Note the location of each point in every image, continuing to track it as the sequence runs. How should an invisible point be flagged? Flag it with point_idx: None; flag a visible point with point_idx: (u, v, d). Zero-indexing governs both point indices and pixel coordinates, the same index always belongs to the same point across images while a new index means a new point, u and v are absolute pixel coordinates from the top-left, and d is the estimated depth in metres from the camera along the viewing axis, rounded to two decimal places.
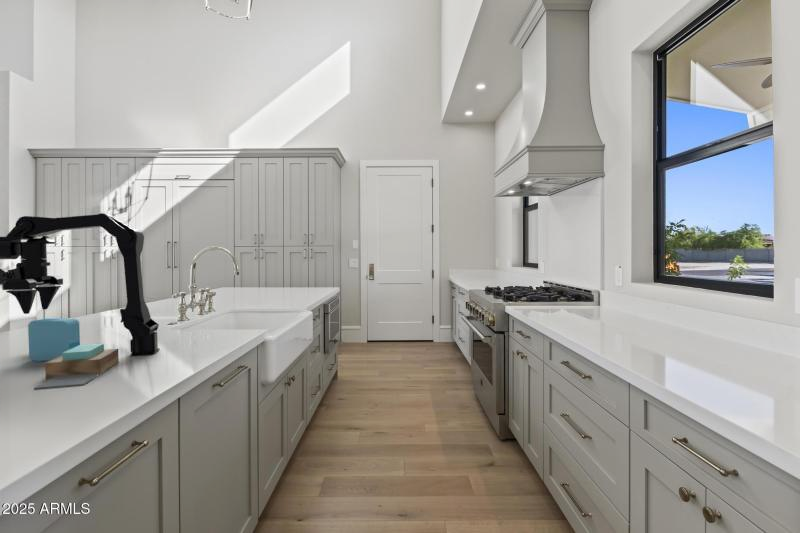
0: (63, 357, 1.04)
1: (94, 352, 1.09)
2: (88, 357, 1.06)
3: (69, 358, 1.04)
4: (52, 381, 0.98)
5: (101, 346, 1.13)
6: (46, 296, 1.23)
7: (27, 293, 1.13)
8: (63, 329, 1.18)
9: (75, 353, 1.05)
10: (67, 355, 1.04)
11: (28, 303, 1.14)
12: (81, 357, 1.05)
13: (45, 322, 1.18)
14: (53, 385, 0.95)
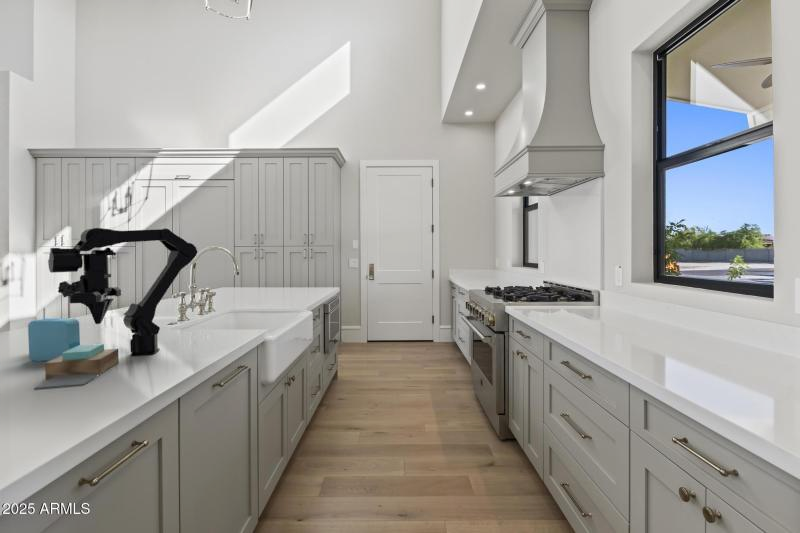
0: (63, 357, 1.04)
1: (94, 352, 1.09)
2: (88, 357, 1.06)
3: (69, 358, 1.04)
4: (52, 381, 0.98)
5: (101, 346, 1.13)
6: None
7: (99, 304, 1.16)
8: (63, 329, 1.18)
9: (75, 353, 1.05)
10: (67, 355, 1.04)
11: (99, 313, 1.17)
12: (81, 357, 1.05)
13: (45, 322, 1.18)
14: (53, 385, 0.95)
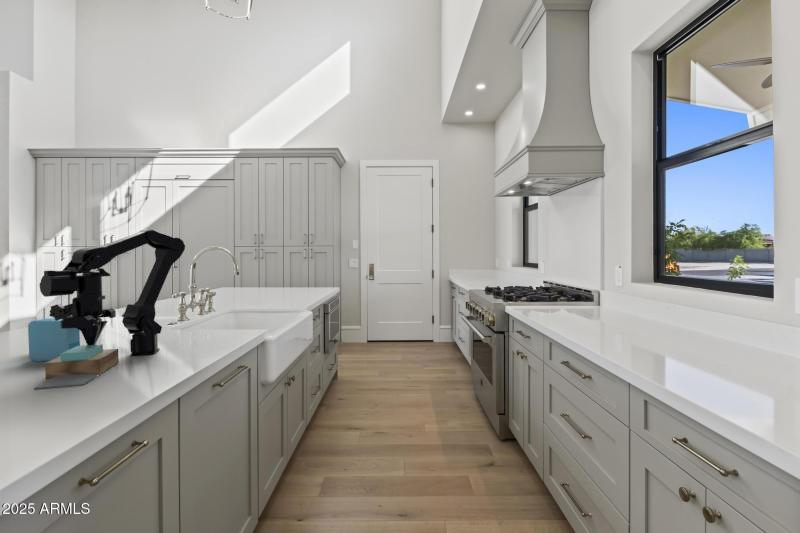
0: (61, 358, 1.03)
1: (93, 353, 1.08)
2: (87, 358, 1.05)
3: (68, 359, 1.04)
4: (52, 381, 0.98)
5: (100, 347, 1.12)
6: None
7: (92, 327, 1.12)
8: (63, 329, 1.18)
9: (74, 354, 1.04)
10: (66, 356, 1.04)
11: (93, 337, 1.12)
12: (80, 358, 1.04)
13: (45, 322, 1.18)
14: (53, 385, 0.95)
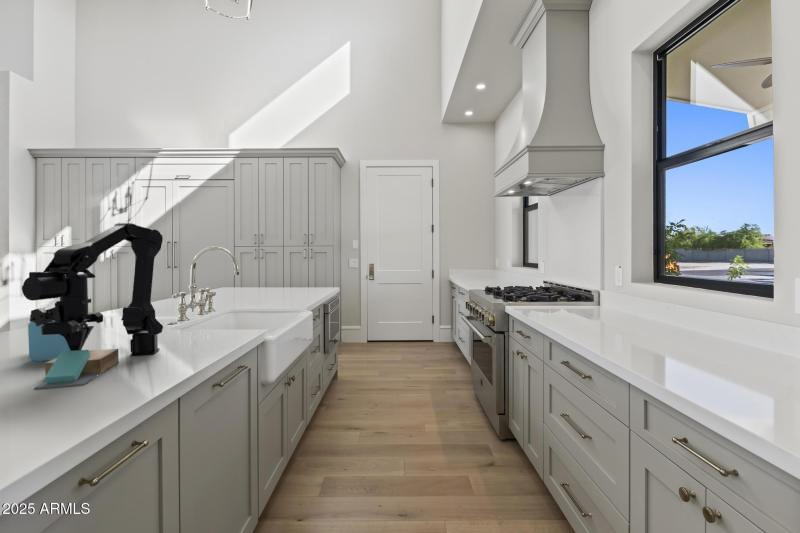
0: (47, 381, 0.96)
1: (80, 368, 1.01)
2: (75, 380, 0.98)
3: (54, 381, 0.97)
4: None
5: (86, 355, 1.04)
6: None
7: (77, 333, 1.03)
8: None
9: (59, 377, 0.97)
10: (51, 379, 0.96)
11: (77, 344, 1.04)
12: (67, 380, 0.98)
13: None
14: (53, 385, 0.95)
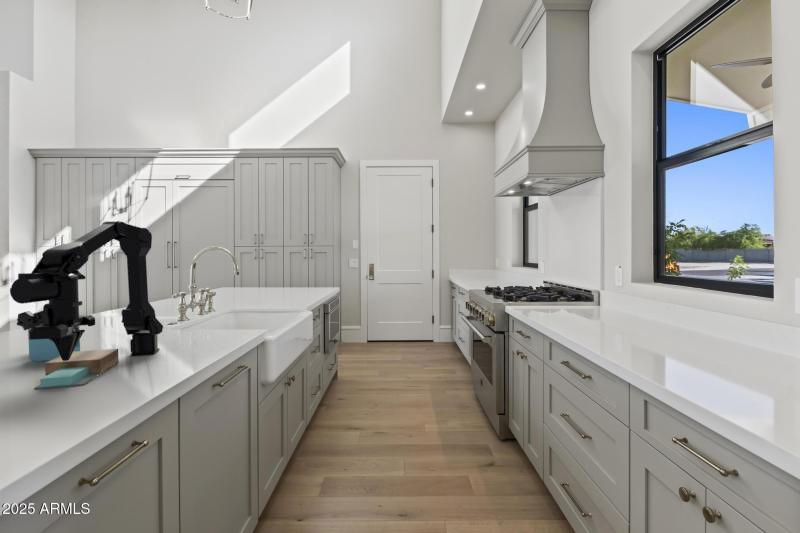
0: (41, 383, 0.94)
1: (77, 377, 0.99)
2: (69, 383, 0.96)
3: (48, 384, 0.94)
4: None
5: (85, 369, 1.03)
6: None
7: (67, 338, 0.99)
8: None
9: (55, 379, 0.95)
10: (46, 381, 0.94)
11: (67, 348, 0.99)
12: (61, 383, 0.95)
13: None
14: None
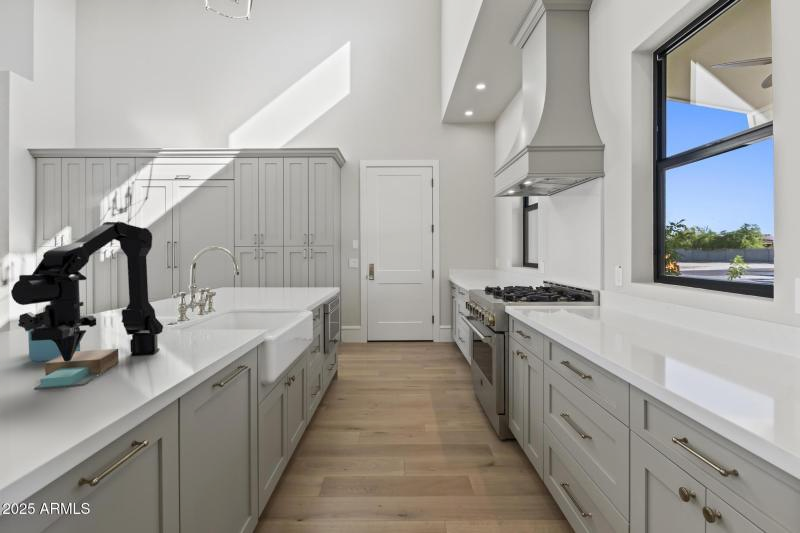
0: (41, 383, 0.94)
1: (77, 377, 0.99)
2: (69, 383, 0.96)
3: (48, 384, 0.94)
4: None
5: (85, 369, 1.03)
6: None
7: (68, 338, 0.99)
8: None
9: (55, 379, 0.95)
10: (46, 381, 0.94)
11: (69, 349, 1.00)
12: (61, 383, 0.95)
13: None
14: None
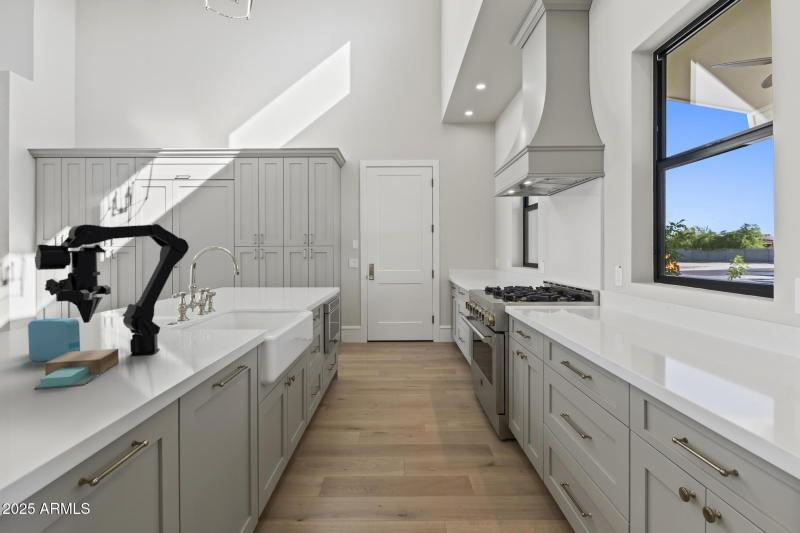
0: (41, 383, 0.94)
1: (77, 377, 0.99)
2: (69, 383, 0.96)
3: (48, 384, 0.94)
4: None
5: (85, 369, 1.03)
6: None
7: (88, 302, 1.13)
8: (63, 329, 1.18)
9: (55, 379, 0.95)
10: (46, 381, 0.94)
11: (88, 312, 1.14)
12: (61, 383, 0.95)
13: (45, 322, 1.18)
14: None
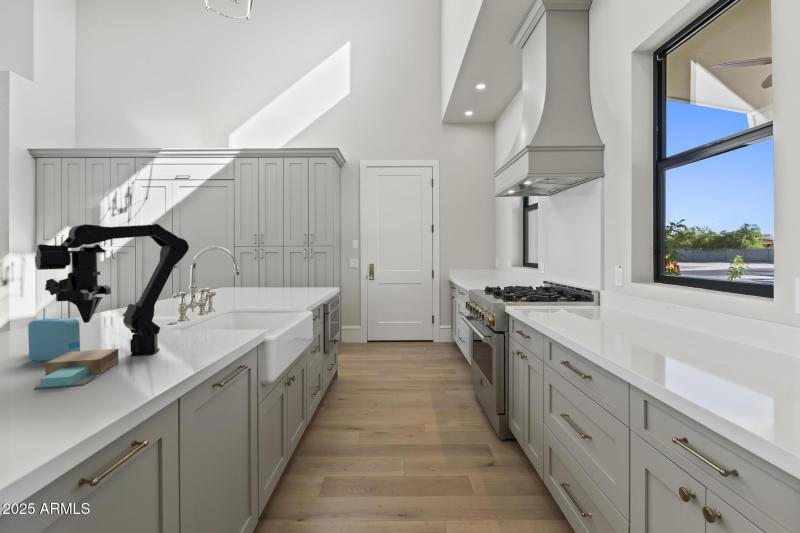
0: (41, 383, 0.94)
1: (77, 377, 0.99)
2: (69, 383, 0.96)
3: (48, 384, 0.94)
4: None
5: (85, 369, 1.03)
6: None
7: (87, 302, 1.13)
8: (63, 329, 1.18)
9: (55, 379, 0.95)
10: (46, 381, 0.94)
11: (88, 312, 1.14)
12: (61, 383, 0.95)
13: (45, 322, 1.18)
14: None
